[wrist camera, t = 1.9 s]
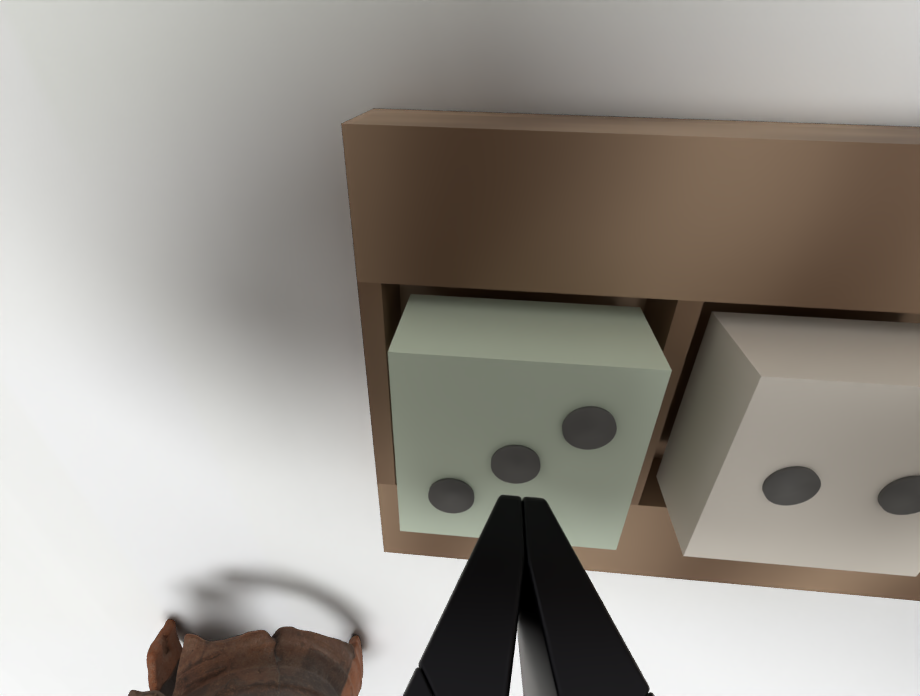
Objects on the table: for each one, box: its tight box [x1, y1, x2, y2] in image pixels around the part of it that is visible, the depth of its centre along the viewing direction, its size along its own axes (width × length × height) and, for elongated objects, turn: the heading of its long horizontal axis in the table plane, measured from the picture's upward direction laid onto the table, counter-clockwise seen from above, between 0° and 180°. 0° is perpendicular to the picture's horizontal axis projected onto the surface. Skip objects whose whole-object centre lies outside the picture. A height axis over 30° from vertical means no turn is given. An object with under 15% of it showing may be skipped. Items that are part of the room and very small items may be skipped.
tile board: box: [341, 109, 920, 601], centre depth 12 cm, size 20×12×2 cm, turn 89°
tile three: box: [388, 294, 672, 550], centre depth 11 cm, size 5×5×2 cm
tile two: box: [656, 311, 920, 577], centre depth 10 cm, size 5×5×2 cm
